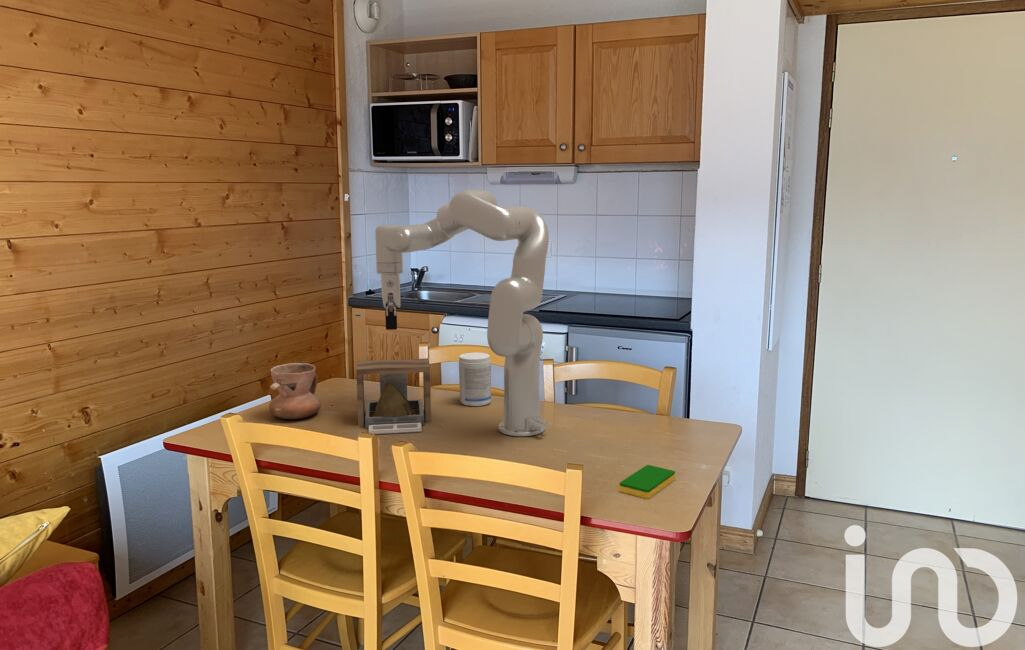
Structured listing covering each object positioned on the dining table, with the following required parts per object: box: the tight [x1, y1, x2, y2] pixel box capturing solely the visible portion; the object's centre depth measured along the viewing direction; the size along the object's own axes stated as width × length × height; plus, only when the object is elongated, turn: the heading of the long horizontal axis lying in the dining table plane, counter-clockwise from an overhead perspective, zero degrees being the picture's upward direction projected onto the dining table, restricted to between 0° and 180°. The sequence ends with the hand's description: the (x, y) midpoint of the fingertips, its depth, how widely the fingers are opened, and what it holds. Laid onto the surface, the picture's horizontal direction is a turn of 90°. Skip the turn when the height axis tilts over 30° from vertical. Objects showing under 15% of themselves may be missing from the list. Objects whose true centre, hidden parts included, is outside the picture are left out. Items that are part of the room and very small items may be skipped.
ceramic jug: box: [268, 362, 322, 420], centre depth 223 cm, size 18×14×14 cm
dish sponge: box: [618, 464, 676, 500], centre depth 174 cm, size 7×14×2 cm, turn 144°
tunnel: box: [355, 357, 432, 427], centre depth 220 cm, size 10×20×16 cm, turn 99°
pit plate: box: [368, 422, 423, 436], centre depth 211 cm, size 5×14×1 cm, turn 99°
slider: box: [364, 373, 425, 429], centre depth 225 cm, size 25×16×9 cm, turn 9°
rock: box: [373, 383, 415, 417], centre depth 220 cm, size 11×9×10 cm
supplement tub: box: [458, 352, 492, 407], centre depth 236 cm, size 10×10×15 cm
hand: (391, 326), depth 229 cm, fingers open, 8 cm apart
